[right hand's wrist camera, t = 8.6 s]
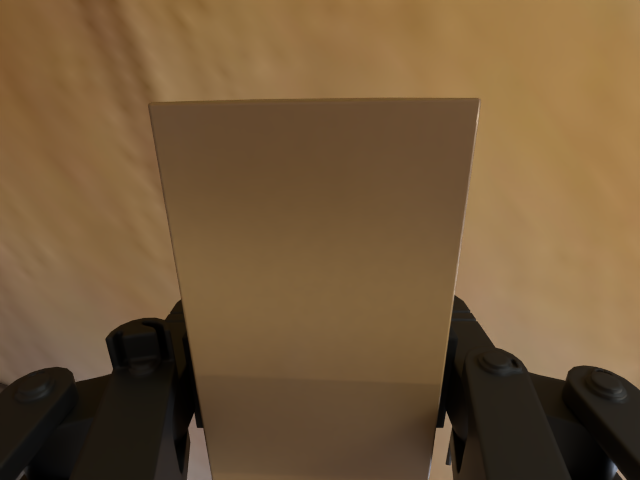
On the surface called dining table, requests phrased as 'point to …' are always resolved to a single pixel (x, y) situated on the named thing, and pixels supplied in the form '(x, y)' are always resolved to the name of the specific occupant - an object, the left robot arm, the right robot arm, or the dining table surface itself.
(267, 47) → the dining table surface
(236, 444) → the post
